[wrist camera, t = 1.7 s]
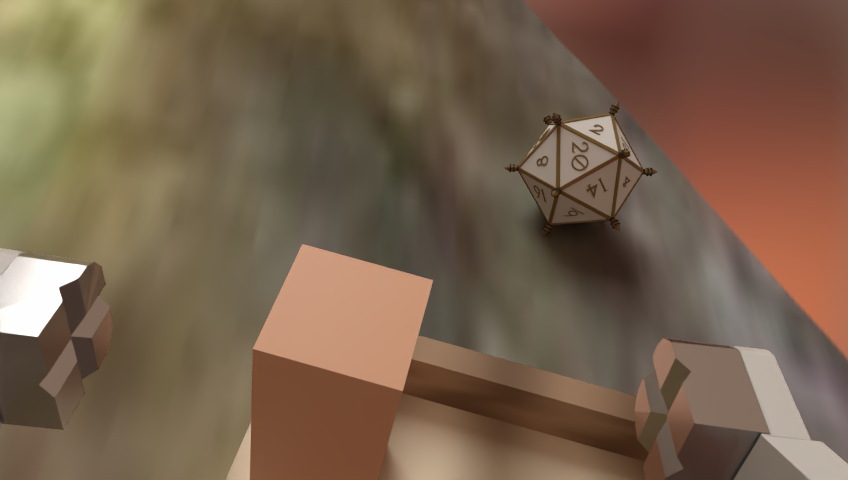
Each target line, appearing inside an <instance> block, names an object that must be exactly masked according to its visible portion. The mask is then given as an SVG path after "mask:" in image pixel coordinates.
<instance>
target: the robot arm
mask: <svg viewBox="0 0 848 480" xmlns="http://www.w3.org/2000/svg"><path fill="white" fill-rule="evenodd" d="M105 284H106V283H105V279H104V275H103V271H102V266H100V265H99V264H97V263H95V262H91V261H84V260H78V259H72V258H65V257H59V256H52V255H46V254H40V253H33V252H22V251H15V250H9V249H3V248H0V428H1V427H2V425H1V424H11V425H21V426H31V427H41V428H50V429H60V430H64V428H65V426H66V425H67V423H68V421H69V419H70V418H71V416H72V414H73V412H74V411H75V409H76V407H77V406H78V404H79V402H80V400H81V399H82V397H83V395H84V393H85V392H84V388H83V384H82V379H83V378H85V377H86V376H88V375H90V374H91V373H93V372H95V371H96V370H98V369H99V367H100V365H101V363H102V361H103V360H104V358H105V356H106V354H107V350H108V347H109V343H110V340H111V336H112V315H111V310H110V307H109V306H108V304H107V303H106V302H105V301H104V300H103V299H102V298H101V297H100V296H99V294H100V292H101V291H102V289H103V287H104V286H105ZM652 357H653V362H654V366H655V371H653V372H651V373H650V374H648V375H647V376H645V377H643V379H642V382H641V385H640V387H639V390H638V392H637V397H636V404H635V411H634V412H635V428H636V434H637V439H638V441H639V442H640V443H641V444H642V445H643V446H644V447H645V449H646V450H647V451H648V452H649V454H648V456H647V458H646V460H645V463H644V465H643V469H644V474H645V479H646V480H848V464H847V463H846V462H845V461H843V460H842V459H841V458H840V457H839V456H838V455H837V454H835V453H834V452H833V451H832V450H831V449H830V448H828V447H827V446H826V445H825V444H824V443H823V442H819V441H812V440H811V438H810V436H809V434H808V432H807V429H806V427H805V425H804V422H803V420H802V418H801V416H800V413H799V411H798V409H797V407H796V404H795V402H794V400H793V398H792V395H791V393H790V391H789V388H788V386H787V384H786V382H785V379H784V377H783V375H782V373H781V370H780V368H779V366H778V364H777V361H776V359H775V357H774V355H773V354H772V353H771V352H769V351H768V350H763V349H755V348H746V347H738V346H732V347H730V346H725V345H718V344H710V343H702V342H694V341H686V340H678V339H670V338H663V339H662V340H661V341H660V342H659V344H658V345H657V347H656V349H655V352H654V354H653V356H652Z"/></svg>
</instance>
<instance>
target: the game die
mask: <svg viewBox="0 0 848 480" xmlns="http://www.w3.org/2000/svg"><path fill="white" fill-rule="evenodd" d="M611 106H612V107H611V108H610V112H609V113H607V114H601V115H595V116H588V117H582V118H576V119H570V120H564V121H561V118H560V115H558V114H555V113H553V116H552V119H551V117H550V116H549V115H548V116H547V115H545V114H544V122H545V124H547V125H548V126H547V127H546V129H545V130H544V132H543V133H542V134H541V136H540V137H539V138H538V140H537V141H536V142H535V144H534V145H533V146H532V148H531V149H530V150H529V152H528V153H527V154H526V156H525V157H524V158H523V160H522V161H521V163H520V164H519V165H518V166H516V165H514V164H513V165H511V164H510V165H508V166H507V167H505V169H507V170H508V171H509V172H511V171H513V172H514V171H518V172H519V173H520V175H521V177H522V179H523V180H524V182H525V184H526V186H527V187H528V189H529V191H530V193H531V194H532V196H533V198H534V200H535V201H536V203H537V205H538V207H539V208H540V210H541V212H542V214H543V215H544V217H545V219H546V221H547V222H548V223H547V224H546V225H545V226H544V228H543V229H542V230H543V236H544V235H546V234H548V233H550V230H552V229H551V226H552V225H563V224H575V223H588V222H600V221H610V222H611V224H610V225H612V228H614V229H617V230H619V231H620V223H619V222H618V220H616V219H615V216H616V215H617V213H618V212H619V210H620V209H621V207H622V205H623V204H624V202H625V201H626V199H627V198H628V196H629V195H630V193H631V191H632V190H633V188H634V187H635V185H636V184H637V182H638V181H639V179H640V178H641V176H642V175H643V174H645V175H646V176H648V175H650V176H651V175H653V174H655V173H656V172H657V171H655V170H653V169H652V168H650V169H649V168H646V169H643V168H642V166H641V164H640V162H639V161H638V159H637V157H636V155H635V153H634V151H633V150H632V148H631V146H630V144H629V142H628V140H627V139H626V137H625V135H624V133H623V131H622V129H621V128H620V126H619V124H618V122H617V120H616V118H615V117H614V114H615V113H617V111H618V109H620V108H619V102H617V103H615V104H614V105H611ZM552 121H554V122H552Z"/></svg>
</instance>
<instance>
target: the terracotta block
mask: <svg viewBox="0 0 848 480" xmlns="http://www.w3.org/2000/svg"><path fill="white" fill-rule="evenodd" d="M432 282H433V280H430V279H426V278H423V277H419V276H416V275H412V274H408V273H405V272H401V271H398V270H394V269H390V268H387V267H383V266H380V265H376V264H372V263H369V262H365V261H362V260H358V259H355V258H351V257H347V256H344V255H340V254H337V253H333V252H329V251H326V250H322V249H319V248H315V247H311V246H308V245H304V244H302V246H301V249H300V251H299V253H298V255H297V257H296V259H295V261H294V263H293V265H292V267H291V270H290V272H289V274H288V276H287V278H286V280H285V282H284V284H283V286H282V289H281V291H280V293H279V295H278V297H277V299H276V301H275V303H274V305H273V308H272V310H271V312H270V314H269V316H268V318H267V320H266V322H265V324H264V327H263V329H262V331H261V333H260V335H259V337H258V339H257V341H256V343H255V345H254V348H253V365H252V406H251V446H250V480H378V477H379V473H380V470H381V466H382V463H383V459H384V456H385V452H386V449H387V445H388V442H389V438H390V434H391V431H392V427H393V424H394V420H395V417H396V413H397V410H398V406H399V403H400V399H401V396H402V392H403V389H404V385H405V381H406V378H407V374H408V370H409V367H410V363H411V359H412V356H413V352H414V348H415V345H416V341H417V337H418V334H419V330H420V326H421V323H422V319H423V315H424V312H425V308H426V304H427V301H428V297H429V293H430V290H431V286H432Z"/></svg>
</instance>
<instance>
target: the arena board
mask: <svg viewBox="0 0 848 480" xmlns="http://www.w3.org/2000/svg"><path fill="white" fill-rule="evenodd" d="M636 397H637V396H633V395H630V394H626V393H622V392H619V391H615V390H612V389H608V388H605V387H601V386H597V385H594V384H590V383H587V382H583V381H580V380H576V379H573V378H569V377H565V376H562V375H558V374H555V373H551V372H548V371H544V370H540V369H537V368H533V367H530V366H526V365H523V364H519V363H515V362H512V361H508V360H505V359H501V358H498V357H494V356H490V355H487V354H483V353H480V352H476V351H473V350H469V349H465V348H462V347H458V346H455V345H451V344H448V343H444V342H440V341H437V340H433V339H430V338H426V337H423V336H419V335H418V337H417V341H416V345H415V348H414V352H413V356H412V359H411V363H410V367H409V370H408V374H407V378H406V381H405V385H404V389H403V392H402V396H401V399H400V403H399V406H398V410H397V413H396V417H395V420H394V424H393V427H392V431H391V434H390V438H389V442H388V445H387V449H386V452H385V456H384V459H383V463H382V466H381V470H380V473H379V477H378V480H646V479H645V474H644V469H643V465H644V463H645V460H646V458H647V456H648V454H649V452H648V451H647V450H646V449H645V447H644V446H643V445H642V444H641V443H640V442H639V441H638V439H637V434H636V428H635V412H634V411H635V404H636ZM250 446H251V423H250V425H249V428H248V430H247V432H246V435H245V437H244V439H243V441H242V444H241V446H240V448H239V451H238V453H237V455H236V457H235V460H234V462H233V464H232V467H231V469H230V471H229V473H228V476H227V478H226V480H250Z"/></svg>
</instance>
